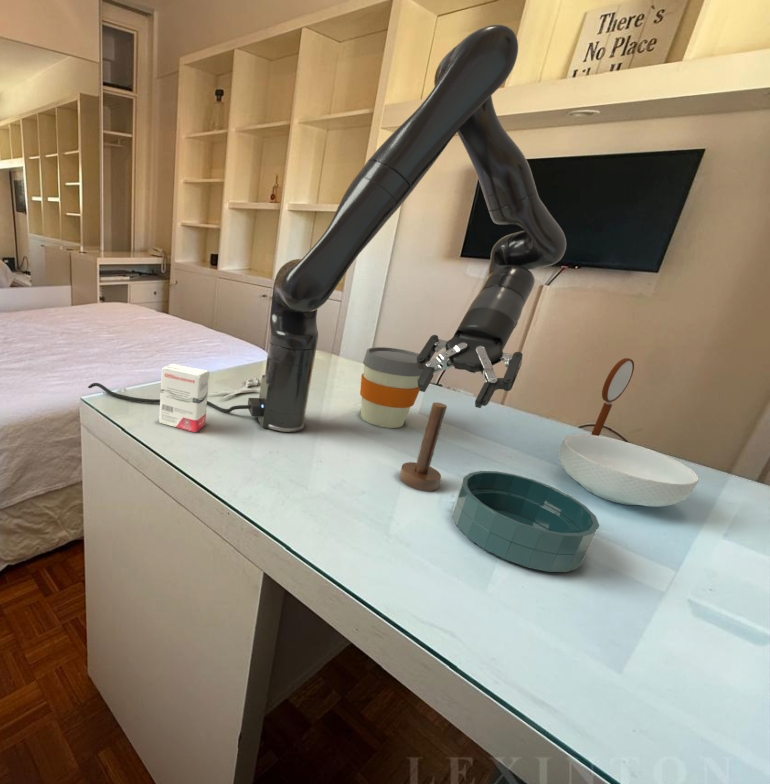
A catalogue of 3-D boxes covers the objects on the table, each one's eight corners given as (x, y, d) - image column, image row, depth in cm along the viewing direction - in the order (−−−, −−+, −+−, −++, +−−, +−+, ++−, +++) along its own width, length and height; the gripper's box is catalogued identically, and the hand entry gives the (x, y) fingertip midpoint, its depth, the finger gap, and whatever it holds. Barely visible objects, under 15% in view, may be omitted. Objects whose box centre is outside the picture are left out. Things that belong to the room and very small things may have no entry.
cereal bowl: (653, 534, 66) (675, 492, 64) (530, 478, 80) (543, 442, 78) (697, 507, 74) (717, 470, 72) (577, 460, 88) (591, 427, 85)
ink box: (206, 424, 93) (210, 369, 89) (195, 433, 88) (200, 376, 84) (169, 415, 96) (172, 361, 92) (157, 423, 92) (160, 367, 88)
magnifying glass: (592, 448, 93) (632, 355, 86) (602, 452, 92) (643, 358, 85) (570, 455, 90) (610, 358, 83) (581, 460, 88) (622, 361, 81)
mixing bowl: (499, 574, 56) (514, 534, 54) (430, 503, 70) (440, 469, 68) (612, 575, 57) (632, 536, 55) (522, 505, 71) (535, 472, 69)
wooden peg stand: (410, 490, 73) (432, 411, 69) (392, 471, 79) (411, 397, 74) (445, 491, 74) (470, 412, 69) (425, 472, 79) (446, 398, 75)
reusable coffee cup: (423, 424, 100) (441, 359, 95) (390, 436, 93) (408, 366, 88) (373, 405, 109) (387, 344, 104) (340, 414, 103) (353, 350, 97)
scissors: (286, 388, 114) (227, 402, 102) (285, 391, 114) (227, 406, 102) (255, 376, 122) (198, 388, 110) (255, 379, 122) (197, 391, 110)
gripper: (443, 299, 79) (401, 372, 76) (541, 314, 70) (499, 398, 66) (446, 326, 85) (407, 395, 81) (537, 343, 75) (498, 422, 72)
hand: (448, 397), depth 74 cm, fingers open, 8 cm apart
